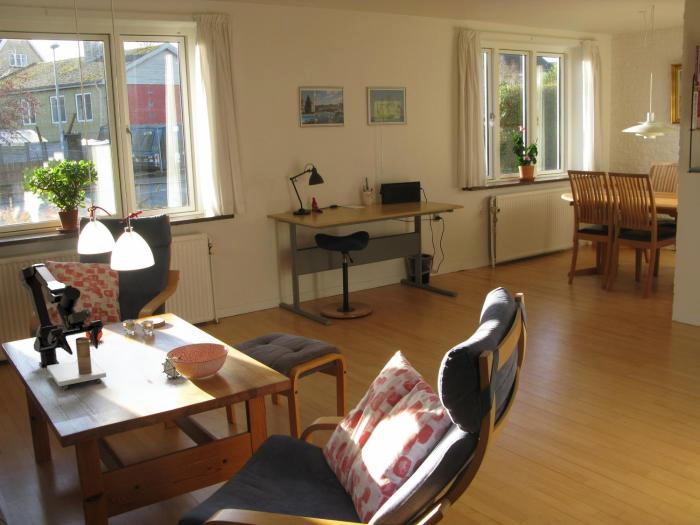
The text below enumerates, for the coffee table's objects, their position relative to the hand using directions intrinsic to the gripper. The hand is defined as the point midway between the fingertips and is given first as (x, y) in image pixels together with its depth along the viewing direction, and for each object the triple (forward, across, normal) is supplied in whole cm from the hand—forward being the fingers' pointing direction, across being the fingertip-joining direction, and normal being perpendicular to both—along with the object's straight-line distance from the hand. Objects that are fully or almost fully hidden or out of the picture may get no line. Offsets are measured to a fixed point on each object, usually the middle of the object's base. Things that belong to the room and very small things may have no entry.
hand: (84, 351), depth 251 cm
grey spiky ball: (+21, +25, -4) cm, 33 cm away
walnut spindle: (+5, 0, +7) cm, 8 cm away
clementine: (-28, +26, +46) cm, 59 cm away
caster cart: (+3, -1, +14) cm, 14 cm away
